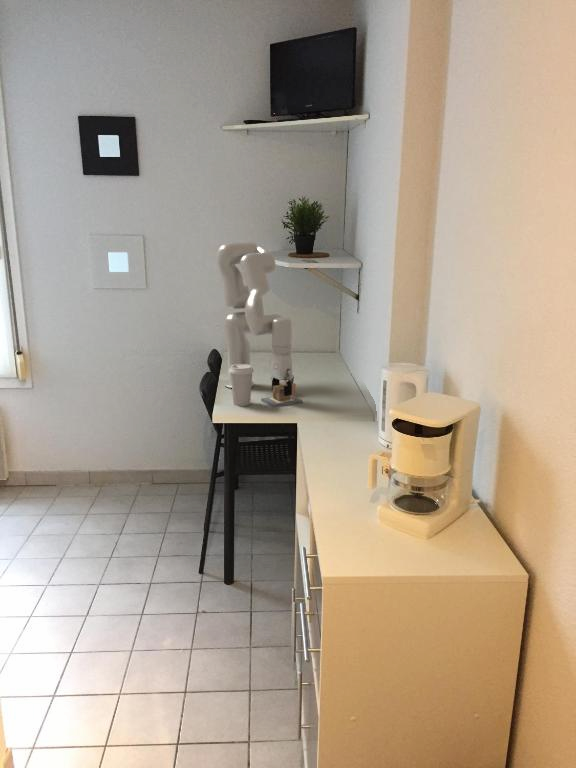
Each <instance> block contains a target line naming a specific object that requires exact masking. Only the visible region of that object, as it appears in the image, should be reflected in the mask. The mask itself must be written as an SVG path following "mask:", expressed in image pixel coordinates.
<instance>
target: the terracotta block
mask: <svg viewBox="0 0 576 768" xmlns="http://www.w3.org/2000/svg"><path fill="white" fill-rule="evenodd" d="M286 381H287V382H288V380H286ZM280 385H285V384H284V381H280ZM292 395H293V396H296V382H293V385H292Z"/></svg>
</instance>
